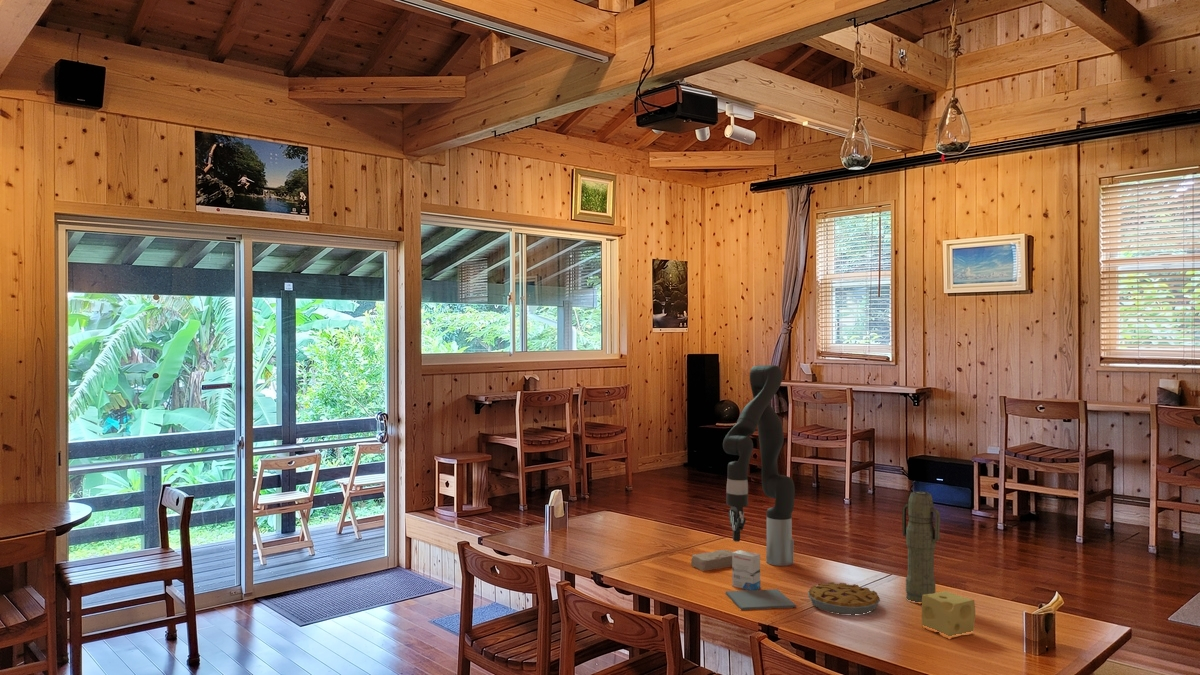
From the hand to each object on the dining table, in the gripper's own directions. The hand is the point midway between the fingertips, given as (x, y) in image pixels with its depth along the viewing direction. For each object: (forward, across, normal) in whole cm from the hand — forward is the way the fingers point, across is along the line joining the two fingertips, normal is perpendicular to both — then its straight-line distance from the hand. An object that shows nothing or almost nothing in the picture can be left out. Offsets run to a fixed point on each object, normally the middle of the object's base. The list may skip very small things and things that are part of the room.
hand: (736, 540), depth 277 cm
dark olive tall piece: (+13, -30, -53) cm, 62 cm away
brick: (+14, +17, +3) cm, 22 cm away
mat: (+13, -24, 0) cm, 27 cm away
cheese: (+13, -56, -46) cm, 73 cm away
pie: (+14, -31, -26) cm, 42 cm away
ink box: (+14, -10, 0) cm, 17 cm away
